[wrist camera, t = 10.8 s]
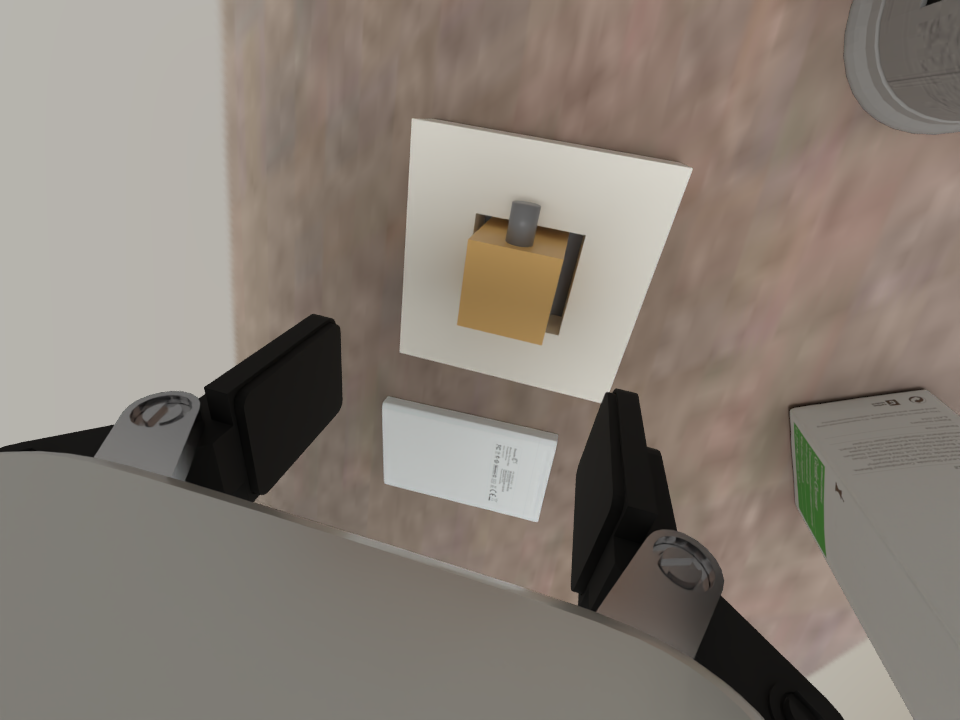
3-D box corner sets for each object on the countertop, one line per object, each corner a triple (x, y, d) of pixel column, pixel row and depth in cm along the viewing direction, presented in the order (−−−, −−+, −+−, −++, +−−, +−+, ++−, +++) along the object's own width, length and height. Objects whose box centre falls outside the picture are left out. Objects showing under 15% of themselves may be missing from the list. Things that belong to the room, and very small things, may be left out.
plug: (551, 301, 24) (541, 345, 19) (483, 286, 24) (457, 325, 19) (578, 197, 21) (574, 219, 16) (499, 182, 21) (473, 198, 17)
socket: (603, 376, 26) (604, 404, 23) (417, 330, 27) (399, 352, 25) (680, 162, 20) (692, 168, 17) (433, 118, 21) (411, 118, 18)
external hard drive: (390, 391, 31) (559, 429, 29) (392, 471, 35) (539, 509, 33) (381, 403, 30) (557, 444, 28) (383, 486, 34) (536, 526, 32)
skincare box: (786, 403, 24) (1025, 750, 11) (938, 382, 22) (1486, 795, 8) (793, 509, 27) (983, 875, 14) (925, 501, 25) (1304, 932, 12)
